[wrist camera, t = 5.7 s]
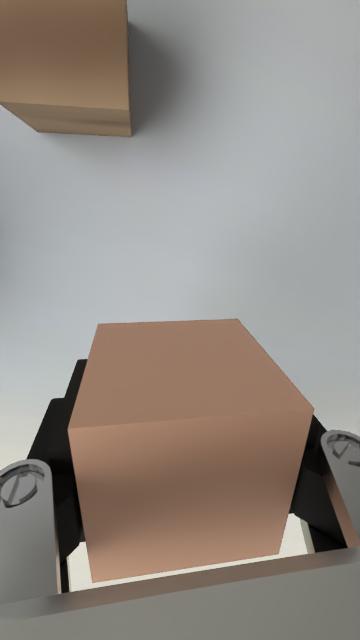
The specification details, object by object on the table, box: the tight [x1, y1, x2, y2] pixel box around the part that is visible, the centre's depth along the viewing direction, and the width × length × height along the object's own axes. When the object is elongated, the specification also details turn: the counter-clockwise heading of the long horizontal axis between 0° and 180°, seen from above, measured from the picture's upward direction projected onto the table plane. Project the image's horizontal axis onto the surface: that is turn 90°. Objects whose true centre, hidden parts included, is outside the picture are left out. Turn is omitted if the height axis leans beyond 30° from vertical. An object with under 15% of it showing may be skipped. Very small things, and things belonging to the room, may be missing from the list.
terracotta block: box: [68, 319, 314, 583], centre depth 9 cm, size 5×5×5 cm
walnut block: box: [0, 0, 131, 137], centre depth 13 cm, size 5×5×5 cm
